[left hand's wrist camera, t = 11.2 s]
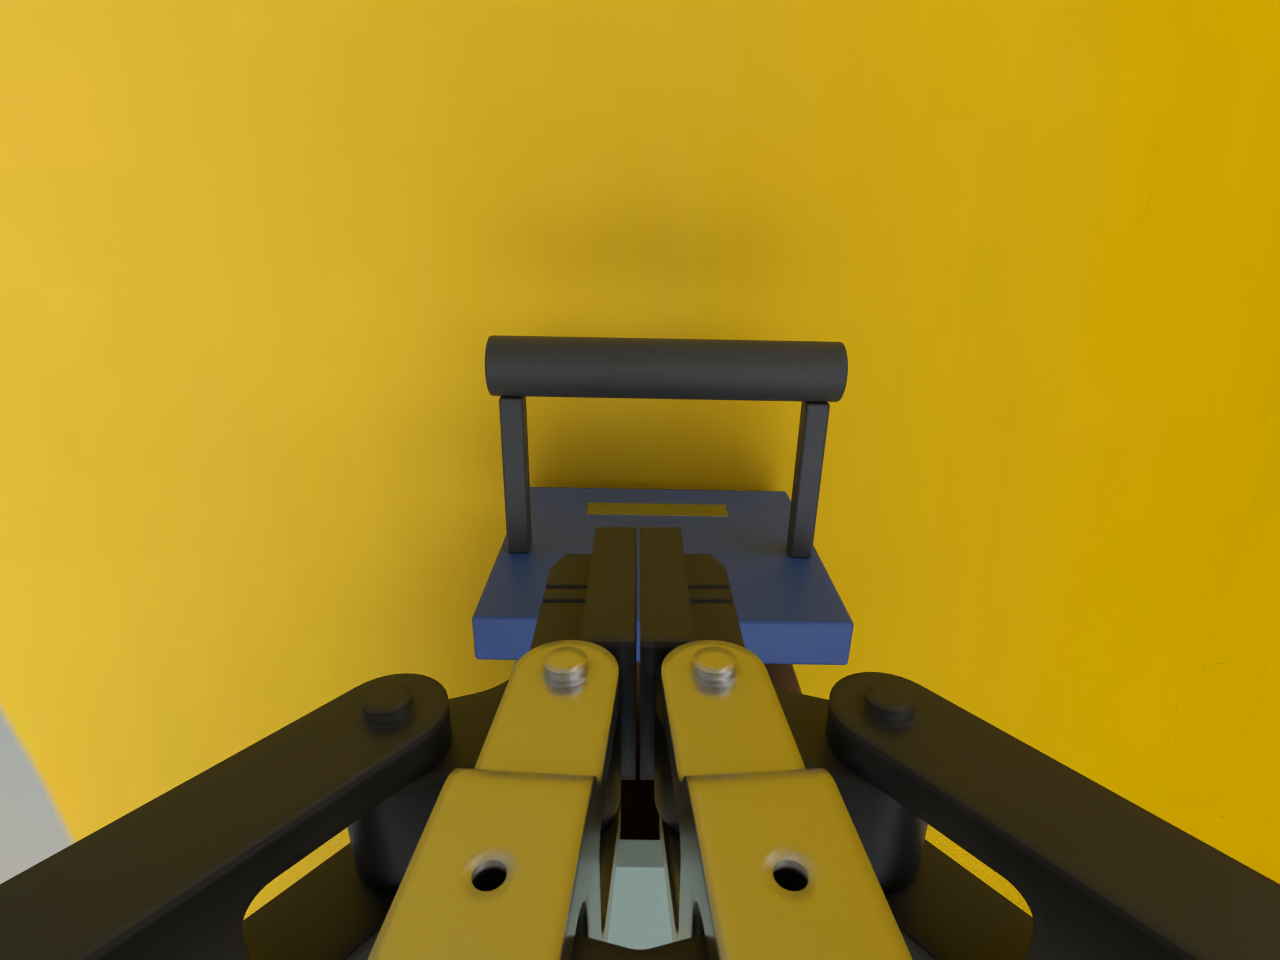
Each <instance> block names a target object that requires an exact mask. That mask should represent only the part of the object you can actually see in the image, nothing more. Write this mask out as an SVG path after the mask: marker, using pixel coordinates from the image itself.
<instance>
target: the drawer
mask: <svg viewBox="0 0 1280 960" xmlns="http://www.w3.org/2000/svg"><path fill="white" fill-rule="evenodd" d="M847 373H848V359H847V352H846V348H845V346H844V344H843V343H841V342H813V341H759V340H705V339H652V338H598V337H544V336H490V337H489V338H488V341H487V345H486V351H485V376H486V383H487V388H488V391H489V393H490V394H491V395H492V396H501V397H500V399H499V408H500V425H501V442H502V460H503V477H504V495H505V512H506V529H507V534H506V537H505V539H504V542H503V544H502V547H501V549H500V552H499V554H498V556H497V559H496V561H495V564H494V566H493V569H492V571H491V574H490V576H489V578H488V581H487V583H486V586H485V588H484V591H483V593H482V596H481V598H480V601H479V603H478V605H477V608H476V610H475V613H474V615H473V618H472V624H473V636H474V648H475V656H476V658H477V659H494V660H520V658H521V657H522V656H524V655H525V654H526V653H527V652H529V651H530V648H531V644H532V640H533V636H534V632H535V628H536V624H537V620H538V616H539V611H540V607H541V603H542V602H543V595H544V591H545V589H546V583H547V579H548V575H549V571H550V568H551V567H552V566H553V565H554V564H556V563H557V562H558V561H559V560H560V559H561V558H562V557H563V556H564V555H565V554H592V551H593V544H594V537H595V529H596V527H636V542H637V647H636V772H635V780H621V797H620V806H621V832H620V839H627V840H660V832H659V813H658V810H657V808H656V804H655V790H654V780H640V527H681V534H682V542H683V550H684V554H711V555H712V556H713V557H714V558H715V559H716V560H717V561H719V562H720V563H721V564H722V565H723V566H724V567H725V568H726V570H727V574H728V579H729V583H730V589H731V591H732V595H733V602H734V604H735V608H736V612H737V616H738V621H739V625H740V629H741V633H742V637H743V642H744V646H745V648H746V649H748V650H749V651H751V652H753V653H754V654H755V655H756V656H758V657H759V658H760V660H761V661H762V662H763V663H764V665H765V667H766V669H767V672H768V674H769V677H770V679H771V682H772V684H774V685H776V686H778V687H781V688H783V689H786V690H789V691H792V692H795V693H799V694H802V692H801V689H800V686H799V683H798V680H797V677H796V674H795V671H794V668H793V665H792V664H818V665H846V664H847V663H848V658H849V651H850V645H851V638H852V632H853V625H854V624H853V622H852V620H851V618H850V616H849V614H848V612H847V610H846V608H845V606H844V604H843V602H842V600H841V598H840V596H839V594H838V592H837V590H836V589H835V587H834V585H833V583H832V581H831V579H830V577H829V575H828V573H827V571H826V569H825V567H824V565H823V563H822V561H821V559H820V557H819V555H818V553H817V552H816V550H815V548H814V546H813V539H814V531H815V523H816V514H817V506H818V498H819V490H820V482H821V474H822V465H823V457H824V449H825V441H826V433H827V425H828V416H829V408H830V405H829V403H828V402H837V401H839V400H840V399H841V398H842V396H843V393H844V390H845V387H846V382H847ZM526 396H535V397H590V398H646V399H701V400H757V401H802V406H801V415H800V425H799V434H798V443H797V453H796V462H795V471H794V481H793V490H792V499H791V501H790V499H789V497H788V495H787V493H786V492H784V491H727V490H668V489H610V488H552V487H530V482H529V459H528V435H527V412H526Z"/></svg>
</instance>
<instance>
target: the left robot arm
mask: <svg viewBox="0 0 1280 960" xmlns="http://www.w3.org/2000/svg"><path fill="white" fill-rule="evenodd" d="M636 647H637V542H636V527H596V529H595V537H594V544H593V551H592V554H565V555H564V556H563V557H562V558H561V559H560V560H559V561H558V562H557V563H556V564H554V565H553V566H552V567H551V568H550V571H549V575H548V579H547V583H546V589H545V591H544V595H543V602H542V603H541V607H540V611H539V616H538V620H537V624H536V628H535V632H534V636H533V640H532V644H531V648H530V651H529V652H527V653H526V654H525V655H524V656H522V657H521V658H520V660H519V661H518V662H517V663H516V665H515V667H514V669H513V672H512V674H511V677H510V679H509V680H507V681H506V682H504V683H502V684H500V685H498V686H496V687H494V688H491V689H489V690H486V691H482V692H479V693H475V694H470V695H466V696H461V697H457V698H452V699H448V695H447V693H446V690H445V689H444V687H443V686H442V685H441V684H440V683H439V682H438V681H436V680H434V679H432V678H430V677H427V676H424V675H418V674H394V675H388V676H383V677H380V678H376V679H373V680H371V681H368V682H366V683H364V684H362V685H360V686H357V687H356V688H354V689H352V690H350V691H348V692H347V693H345V694H343V695H341V696H339V697H338V698H336V699H334V700H332V701H330V702H329V703H327V704H325V705H323V706H321V707H320V708H318V709H316V710H314V711H312V712H311V713H309V714H307V715H305V716H303V717H301V718H300V719H298V720H296V721H294V722H292V723H291V724H289V725H287V726H285V727H283V728H282V729H280V730H278V731H276V732H274V733H273V734H271V735H269V736H267V737H265V738H264V739H262V740H260V741H258V742H256V743H255V744H253V745H251V746H249V747H247V748H246V749H244V750H242V751H240V752H238V753H237V754H235V755H233V756H231V757H229V758H227V759H226V760H224V761H222V762H220V763H218V764H217V765H215V766H213V767H211V768H209V769H208V770H206V771H204V772H202V773H200V774H199V775H197V776H195V777H193V778H191V779H190V780H188V781H186V782H184V783H182V784H181V785H179V786H177V787H175V788H173V789H172V790H170V791H168V792H166V793H164V794H163V795H161V796H159V797H157V798H155V799H154V800H152V801H150V802H148V803H146V804H144V805H143V806H141V807H139V808H137V809H135V810H134V811H132V812H130V813H128V814H126V815H125V816H123V817H121V818H119V819H117V820H116V821H114V822H112V823H110V824H108V825H107V826H105V827H103V828H101V829H99V830H98V831H96V832H94V833H92V834H90V835H89V836H87V837H85V838H83V839H81V840H80V841H78V842H76V843H74V844H72V845H70V846H69V847H67V848H65V849H63V850H62V851H60V852H58V853H56V854H54V855H52V856H51V857H49V858H47V859H45V860H43V861H42V862H40V863H38V864H36V865H34V866H33V867H31V868H29V869H27V870H26V871H24V872H22V873H20V874H18V875H16V876H15V877H13V878H11V879H9V880H7V881H6V882H4V883H2V884H0V960H1280V884H1278V883H1276V882H1274V881H1273V880H1271V879H1269V878H1267V877H1265V876H1264V875H1262V874H1260V873H1258V872H1256V871H1255V870H1253V869H1251V868H1249V867H1247V866H1246V865H1244V864H1242V863H1240V862H1238V861H1237V860H1235V859H1233V858H1231V857H1229V856H1228V855H1226V854H1224V853H1222V852H1220V851H1219V850H1217V849H1215V848H1213V847H1211V846H1209V845H1208V844H1206V843H1204V842H1202V841H1200V840H1199V839H1197V838H1195V837H1193V836H1191V835H1190V834H1188V833H1186V832H1184V831H1182V830H1181V829H1179V828H1177V827H1175V826H1173V825H1172V824H1170V823H1168V822H1166V821H1164V820H1163V819H1161V818H1159V817H1157V816H1155V815H1154V814H1152V813H1150V812H1148V811H1146V810H1145V809H1143V808H1141V807H1139V806H1137V805H1135V804H1134V803H1132V802H1130V801H1128V800H1126V799H1125V798H1123V797H1121V796H1119V795H1117V794H1116V793H1114V792H1112V791H1110V790H1108V789H1107V788H1105V787H1103V786H1101V785H1099V784H1098V783H1096V782H1094V781H1092V780H1090V779H1089V778H1087V777H1085V776H1083V775H1081V774H1080V773H1078V772H1076V771H1074V770H1072V769H1071V768H1069V767H1067V766H1065V765H1063V764H1062V763H1060V762H1058V761H1056V760H1054V759H1052V758H1051V757H1049V756H1047V755H1045V754H1043V753H1042V752H1040V751H1038V750H1036V749H1034V748H1033V747H1031V746H1029V745H1027V744H1025V743H1024V742H1022V741H1020V740H1018V739H1016V738H1015V737H1013V736H1011V735H1009V734H1007V733H1006V732H1004V731H1002V730H1000V729H998V728H997V727H995V726H993V725H991V724H989V723H988V722H986V721H984V720H982V719H980V718H978V717H977V716H975V715H973V714H971V713H969V712H968V711H966V710H964V709H962V708H960V707H959V706H957V705H955V704H953V703H951V702H950V701H948V700H946V699H944V698H942V697H941V696H939V695H937V694H935V693H933V692H932V691H930V690H928V689H926V688H924V687H923V686H921V685H919V684H917V683H915V682H913V681H911V680H908V679H905V678H903V677H899V676H896V675H892V674H886V673H878V672H863V673H856V674H852V675H849V676H846V677H844V678H842V679H841V680H839V681H838V682H837V683H836V684H835V685H834V686H833V688H832V690H831V692H830V697H829V700H826V699H822V698H817V697H812V696H808V695H803V694H799V693H795V692H792V691H789V690H786V689H783V688H781V687H778V686H776V685H774V684H772V682H771V679H770V677H769V674H768V672H767V669H766V667H765V665H764V663H763V662H762V661H761V660H760V658H759V657H758V656H756V655H755V654H754V653H753V652H751V651H749V650H748V649H746V648H745V646H744V642H743V637H742V633H741V629H740V625H739V621H738V616H737V612H736V608H735V604H734V602H733V595H732V591H731V589H730V583H729V579H728V574H727V570H726V568H725V567H724V566H723V565H722V564H721V563H720V562H719V561H717V560H716V559H715V558H714V557H713V556H712V555H711V554H684V550H683V542H682V534H681V527H640V780H654V790H655V804H656V808H657V810H658V813H659V832H660V841H661V849H662V857H663V866H664V874H665V882H666V890H667V899H668V907H669V915H670V924H671V932H672V940H673V942H672V943H669V944H665V945H661V946H657V947H654V948H649V949H631V948H626V947H623V946H619V945H615V944H611V943H608V942H607V940H608V932H609V924H610V915H611V907H612V899H613V890H614V882H615V874H616V866H617V857H618V849H619V841H620V832H621V806H620V797H621V780H635V772H636ZM928 824H929V825H930V826H932V827H933V828H935V829H936V830H938V831H939V832H940V833H942V834H943V835H945V836H946V837H947V838H949V839H950V840H952V841H953V842H954V843H956V844H957V845H959V846H960V847H962V848H963V849H964V850H966V851H967V852H969V853H970V854H971V855H973V856H974V857H976V858H977V859H978V860H980V861H981V862H983V863H984V864H986V865H987V866H988V867H990V868H991V869H993V870H994V871H995V872H997V873H998V874H1000V875H1001V876H1002V877H1004V878H1005V879H1006V880H1008V881H1009V882H1010V883H1011V884H1012V885H1013V886H1014V887H1015V888H1016V889H1017V890H1018V891H1019V892H1020V894H1021V895H1022V896H1023V898H1024V899H1025V901H1026V902H1027V904H1028V906H1029V908H1030V910H1031V913H1032V916H1033V918H1032V917H1031V916H1030V915H1028V914H1027V913H1026V912H1024V911H1023V910H1021V909H1020V908H1019V907H1017V906H1016V905H1015V904H1013V903H1012V902H1010V901H1009V900H1008V899H1006V898H1005V897H1004V896H1002V895H1001V894H999V893H998V892H997V891H995V890H994V889H993V888H991V887H990V886H988V885H987V884H986V883H984V882H983V881H982V880H980V879H979V878H977V877H976V876H975V875H973V874H972V873H971V872H969V871H968V870H966V869H965V868H964V867H962V866H961V865H960V864H958V863H957V862H956V861H954V860H953V859H951V858H950V857H949V856H947V855H946V854H945V853H943V852H942V851H940V850H939V849H938V848H936V847H935V846H934V845H932V844H931V843H929V842H928V841H927V840H925V835H926V830H927V825H928ZM347 827H348V832H349V837H350V841H351V843H349V844H348V845H346V846H345V847H344V848H342V849H341V850H340V851H338V852H337V853H335V854H334V855H333V856H331V857H330V858H329V859H327V860H326V861H324V862H323V863H322V864H320V865H319V866H318V867H316V868H315V869H313V870H312V871H311V872H309V873H308V874H307V875H305V876H304V877H303V878H301V879H300V880H298V881H297V882H296V883H294V884H293V885H292V886H290V887H289V888H287V889H286V890H285V891H283V892H282V893H281V894H279V895H278V896H276V897H275V898H274V899H272V900H271V901H270V902H268V903H267V904H265V905H264V906H263V907H261V908H260V909H259V910H257V911H256V912H254V913H253V914H252V915H250V916H249V917H248V918H246V919H245V920H243V918H244V915H245V913H246V911H247V909H248V907H249V905H250V903H251V902H252V901H253V899H254V898H255V896H256V895H257V894H258V893H259V892H260V891H261V890H262V889H263V888H264V887H265V886H266V885H267V884H268V883H269V882H271V881H272V880H273V879H275V878H276V877H277V876H279V875H280V874H282V873H283V872H285V871H286V870H287V869H289V868H290V867H292V866H293V865H294V864H296V863H297V862H299V861H300V860H301V859H303V858H304V857H306V856H307V855H309V854H310V853H311V852H313V851H314V850H316V849H317V848H318V847H320V846H321V845H323V844H324V843H325V842H327V841H328V840H330V839H331V838H333V837H334V836H335V835H337V834H338V833H340V832H341V831H342V830H344V829H345V828H347Z"/></svg>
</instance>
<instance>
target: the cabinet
mask: <svg viewBox="0 0 1280 960" xmlns="http://www.w3.org/2000/svg"><path fill="white" fill-rule="evenodd" d="M518 661H519V660H515V662H514V666H513V669H514V667H515V665H516V663H517V662H518ZM513 669H512V672H513ZM511 674H512V673H511ZM607 942H608V943H611V944H615V945H619V946H623V947H626V948H631V949H649V948H654V947H657V946H661V945H665V944H669V943H672V942H673V940H672V932H671V924H670V915H669V907H668V899H667V890H666V882H665V874H664V866H663V857H662V849H661V841H660V840H627V839H620V841H619V849H618V857H617V866H616V874H615V882H614V890H613V899H612V907H611V915H610V924H609V932H608V940H607Z"/></svg>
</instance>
